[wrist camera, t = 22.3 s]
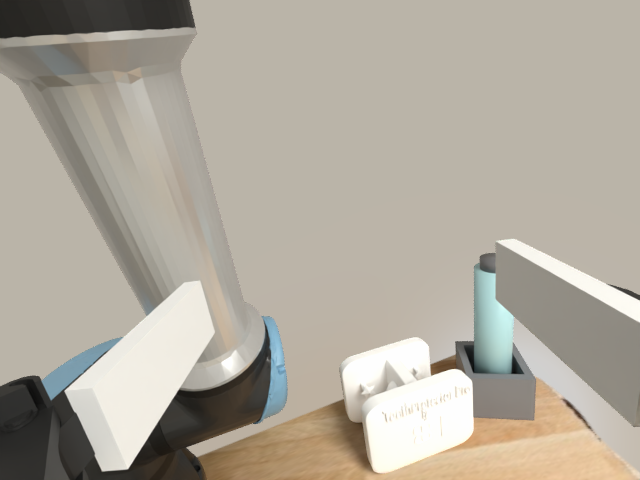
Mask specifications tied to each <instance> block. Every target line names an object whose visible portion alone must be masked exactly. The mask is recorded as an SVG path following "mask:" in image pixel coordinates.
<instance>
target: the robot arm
mask: <svg viewBox="0 0 640 480" xmlns="http://www.w3.org/2000/svg"><path fill="white" fill-rule="evenodd" d="M196 34H197V32H196V27H195V23H194V19H193V15H192V11H191V6H190V2H189V0H0V73H2V74H3V75H5V76H7V77H8V78H10V79H11V80H12V81H13V82H15V83H16V84H17V85H19V87H20V89H21V91H22V93H23V94H24V96H25V98H26V100H27V101H28V103H29V105H30V107H31V109H32V110H33V112H34V114H35V116H36V118H37V120H38V121H39V123H40V125H41V127H42V129H43V130H44V132H45V134H46V136H47V138H48V139H49V141H50V143H51V145H52V147H53V148H54V150H55V152H56V154H57V156H58V157H59V159H60V161H61V163H62V165H63V166H64V168H65V170H66V172H67V174H68V175H69V177H70V179H71V181H72V182H73V184H74V186H75V188H76V190H77V192H78V193H79V195H80V197H81V199H82V200H83V202H84V204H85V206H86V208H87V209H88V211H89V213H90V215H91V217H92V219H93V220H94V222H95V224H96V226H97V228H98V229H99V231H100V233H101V235H102V237H103V238H104V240H105V242H106V244H107V246H108V247H109V249H110V251H111V253H112V255H113V256H114V258H115V260H116V262H117V263H118V265H119V267H120V269H121V271H122V273H123V274H124V276H125V278H126V280H127V281H128V283H129V285H130V287H131V289H132V290H133V292H134V294H135V296H136V297H137V300H138V301H139V303H140V305H141V307H142V309H143V310H144V312H145V314H146V316H147V317H146V318H145V319H143V320H142V321H141V322H140V323H139V324H138V325H137V326H136V327H135V328H133V329H132V330H131V331H130V332H129V333H128V334H127V335H126V336H125V337H121V338H116V339H113V340H110V341H107V342H104V343H102V344H99V345H97V346H95V347H93V348H91V349H88V350H86V351H85V352H82V353H81V354H79V355H77V356H75V357H74V358H72V359H70V360H69V361H67V362H66V363H64V364H63V365H61V366H60V367H58V368H57V369H56V370H54V371H53V372H51V373H50V374H49V375H48V376H46V377H45V378H44V379H43V380H42V381H41V379H40V377H39V376H27V377H23V378H20V379H17V380H14V381H11V382H9V383H7V384H5V385H2V386H0V480H207V478H206V475H205V472H204V470H203V467H202V465H201V463H200V461H199V460H198V458H197V457H196V456H195V455H194V454H192V453H191V452H190V451H189V450H188V449H187V448H186V447H188V446H191V445H194V444H196V443H199V442H202V441H205V440H208V439H210V438H213V437H216V436H219V435H222V434H224V433H227V432H230V431H233V430H235V429H238V428H241V427H243V426H246V425H249V424H252V423H253V424H258V423H260V422H261V421H262V420H263V419H265V418H267V417H270V416H272V415H275V414H277V413H279V412H280V411H281V410H282V409H283V408H284V406H285V404H286V401H287V376H286V370H285V367H284V365H285V364H284V353H283V348H282V343H281V339H280V335H279V331H278V328H277V325H276V323H275V321H274V319H273V318H272V317H269V316H267V317H264V316H261V315H260V313H259V312H258V311H257V309H256V308H255V307H253V306H252V305H250V304H248V303H246V302H244V300H243V296H242V293H241V289H240V285H239V282H238V278H237V274H236V271H235V267H234V263H233V260H232V256H231V252H230V249H229V245H228V241H227V238H226V234H225V230H224V227H223V223H222V220H221V216H220V212H219V209H218V205H217V201H216V198H215V194H214V191H213V187H212V183H211V179H210V176H209V172H208V169H207V165H206V161H205V158H204V154H203V150H202V147H201V143H200V140H199V136H198V132H197V129H196V125H195V121H194V117H193V114H192V110H191V107H190V103H189V99H188V96H187V92H186V88H185V85H184V81H183V78H182V74H181V60H182V59H183V57H184V55H185V53H186V51H187V49H188V48H189V46H190V44H191V43H192V41H193V39H194V38H195V36H196ZM495 299H496V300H497V301H498V302H499V303H500V304H501V305H502V306H503V307H504V308H505V309H507V310H508V311H509V312H510V313H511V314H512V315H513V316H514V317H515V318H516V319H517V320H519V321H520V322H521V323H522V324H523V325H524V326H525V327H526V328H527V329H528V330H529V331H530V332H531V333H533V334H534V335H535V336H536V337H537V338H538V339H539V340H540V341H541V342H543V343H544V344H545V345H546V346H547V347H548V348H549V349H550V350H551V351H552V352H553V353H554V354H555V355H556V356H558V357H559V358H560V359H561V360H562V361H563V362H564V363H565V364H566V365H567V366H568V367H570V368H571V369H572V370H573V371H574V372H575V373H576V374H577V375H578V376H579V377H580V378H581V379H582V380H584V381H585V382H586V383H587V384H588V385H589V386H590V387H591V388H592V389H593V390H594V391H596V392H597V393H598V394H599V395H600V396H601V397H602V398H603V399H604V400H605V401H606V402H608V403H609V404H610V405H611V406H612V407H613V408H614V409H615V410H616V411H617V412H618V413H619V414H621V415H622V416H623V417H624V418H625V419H626V420H627V421H628V422H629V423H630V424H631V425H632V426H633V427H639V426H640V295H638V294H636V293H634V292H632V291H629V290H627V289H623V288H619V287H616V286H613V285H609V284H605V283H603V282H601V281H599V280H597V279H595V278H593V277H591V276H589V275H587V274H585V273H583V272H581V271H579V270H577V269H575V268H572V267H571V266H569V265H567V264H564V263H563V262H560V261H558V260H556V259H554V258H552V257H550V256H548V255H546V254H544V253H542V252H540V251H538V250H536V249H534V248H532V247H530V246H528V245H526V244H524V243H522V242H520V241H518V240H516V239H508V240H500V241H496V282H495Z"/></svg>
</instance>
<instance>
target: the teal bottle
mask: <svg viewBox="0 0 640 480" xmlns="http://www.w3.org/2000/svg"><path fill="white" fill-rule="evenodd" d="M495 282H496V253H488V254H484V255H481V256H480V263H478V264H476V265H475V266H474V373H480V374H511V372H512V349H513V324H514V316H513V315H512V314H511V313H510V312H509V311H508V310H507V309H505V308H504V307H503V306H502V305H501V304H500V303H499V302H498V301H497V300H496V299H495Z"/></svg>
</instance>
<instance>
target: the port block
mask: <svg viewBox="0 0 640 480" xmlns="http://www.w3.org/2000/svg"><path fill="white" fill-rule="evenodd" d="M455 343H456V369H458V370H461V371H462V372H463V373H464V374H465V375H466V376H468V377H469V378H470V379H471V381H472V387H473V417H478V418H498V419H518V420H534V413H535V391H536V379H535V377H534V376H533V374H532V372H531V371H530V369H529V367H528V366H527V364H526V363H525V361H524V359H523V358H522V356H521V354H520V353H519V351H518V349H517V348H516V346H515V344H514V343H513V349H512V372H511V374H480V373H474V341H469V342H468V341H462V342H461V341H460V342H458V341H457V342H455Z"/></svg>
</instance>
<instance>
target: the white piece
mask: <svg viewBox="0 0 640 480" xmlns="http://www.w3.org/2000/svg"><path fill="white" fill-rule="evenodd" d="M340 377H341V383H342V389H343V395H344V401H345V407H346V412H347V414H348V417H349V419H350V420H351V421H352V422H356V423H360V422H362V423H363V430H364V437H365V443H366V450H367V457H368V460H369V462H370V464H371V467H372V469H373V470H374V471H375V472H376V473H388V472H391V471H394V470H396V469H399V468H401V467H404V466H406V465H409V464H411V463H414V462H417V461H419V460H422V459H424V458H427V457H429V456H432V455H434V454H437V453H439V452H442V451H444V450H447V449H449V448H452V447H454V446H457V445H459V444H461V443H463V442H465V441H466V440H467V439H468V438H469V437H470V436H471V434H472V432H473V387H472V381H471V379H470V378H469V377H468V376H466V375H465V374H464V373H463V372H462V371H461V370H458V369H451V370H447V371H444V372H441V373H438V374H435V375H432V376H431V370H430V355H429V346H428V345H427V344H426V343H425V342H424V341H423V340H422V339H421V338H418V337H412V338H408V339H405V340H402V341H399V342H395V343H392V344H389V345H386V346H383V347H379V348H376V349H372V350H370V351H366V352H363V353H359V354H357V355H353V356H350V357H348V358H347V359H345V360H344V361H343V362H342V364H341V365H340Z"/></svg>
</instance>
